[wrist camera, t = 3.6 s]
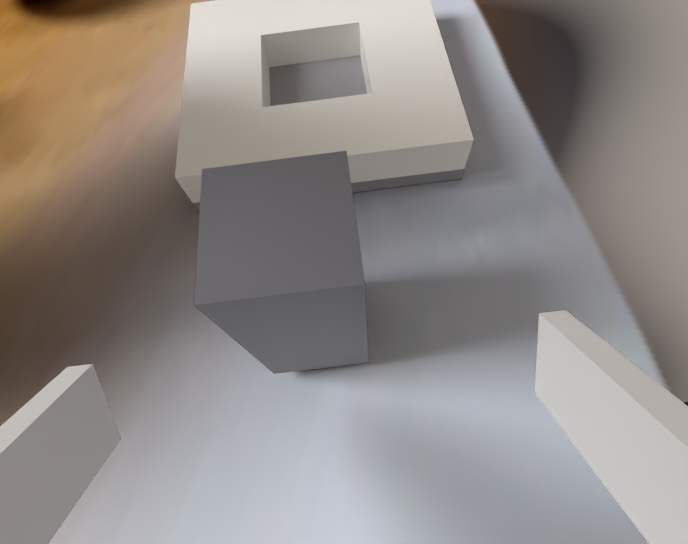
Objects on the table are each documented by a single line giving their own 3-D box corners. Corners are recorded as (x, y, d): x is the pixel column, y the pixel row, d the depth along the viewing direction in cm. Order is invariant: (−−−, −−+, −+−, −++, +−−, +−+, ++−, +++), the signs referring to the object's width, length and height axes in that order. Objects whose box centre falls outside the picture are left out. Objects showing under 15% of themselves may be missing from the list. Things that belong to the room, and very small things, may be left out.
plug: (278, 377, 21) (194, 304, 11) (275, 293, 23) (202, 168, 13) (368, 366, 21) (364, 284, 11) (358, 283, 23) (346, 150, 13)
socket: (198, 211, 26) (174, 177, 23) (208, 47, 33) (191, 3, 30) (461, 178, 26) (473, 139, 23) (416, 20, 33) (421, -28, 29)
